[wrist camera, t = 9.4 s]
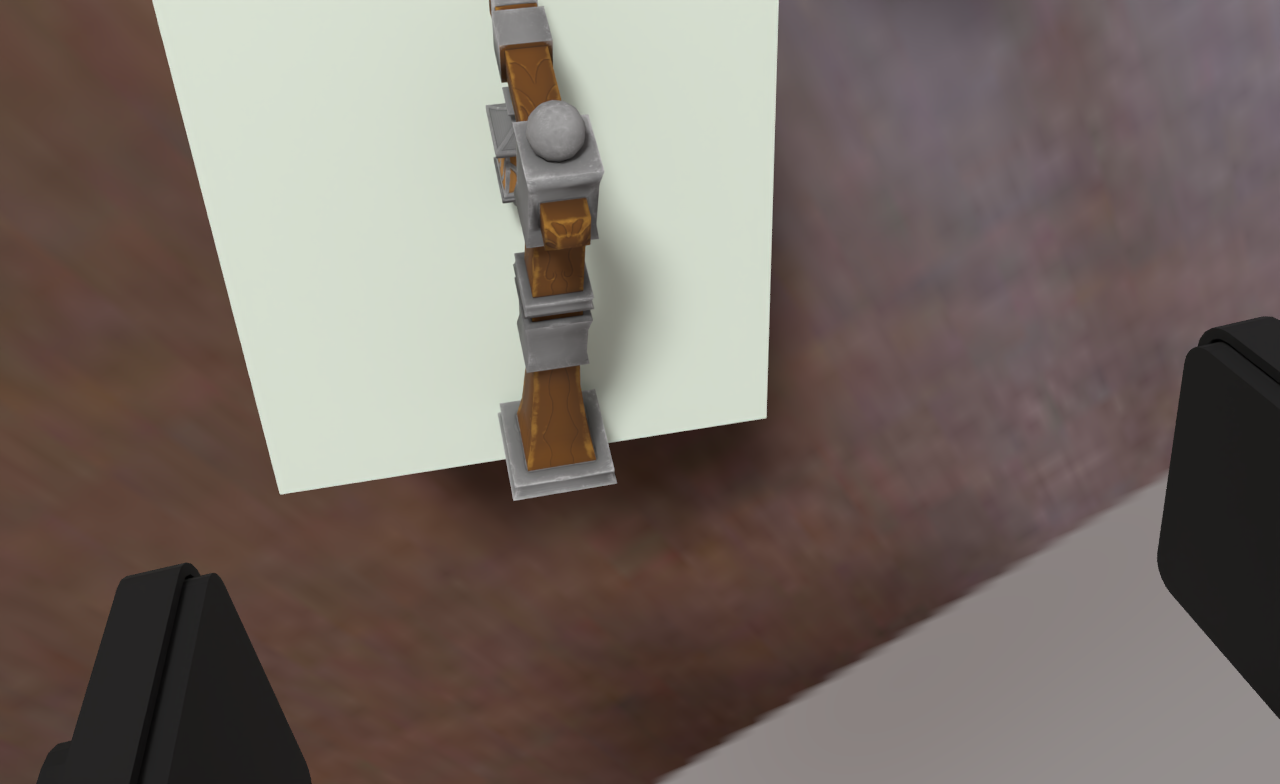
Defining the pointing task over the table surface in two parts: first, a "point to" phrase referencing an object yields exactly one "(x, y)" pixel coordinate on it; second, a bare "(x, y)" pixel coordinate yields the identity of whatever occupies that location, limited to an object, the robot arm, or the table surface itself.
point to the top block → (474, 217)
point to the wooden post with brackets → (547, 260)
